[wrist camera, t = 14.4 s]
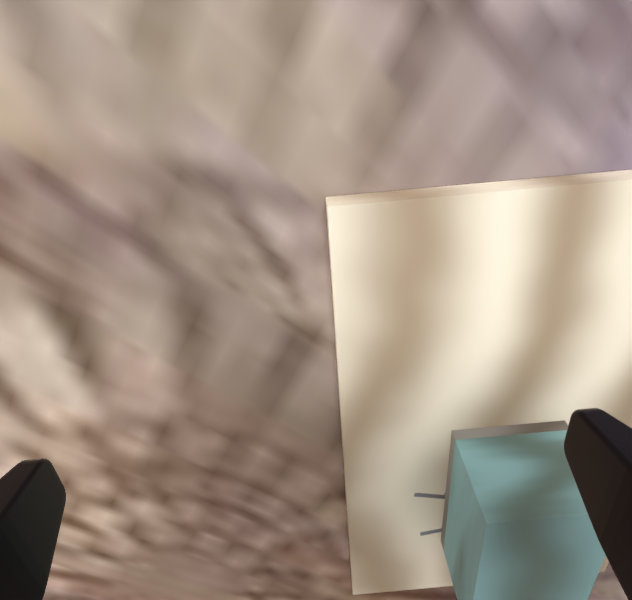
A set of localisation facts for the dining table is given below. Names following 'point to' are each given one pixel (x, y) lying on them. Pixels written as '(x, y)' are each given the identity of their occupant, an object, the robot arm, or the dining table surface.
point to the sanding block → (516, 517)
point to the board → (467, 340)
